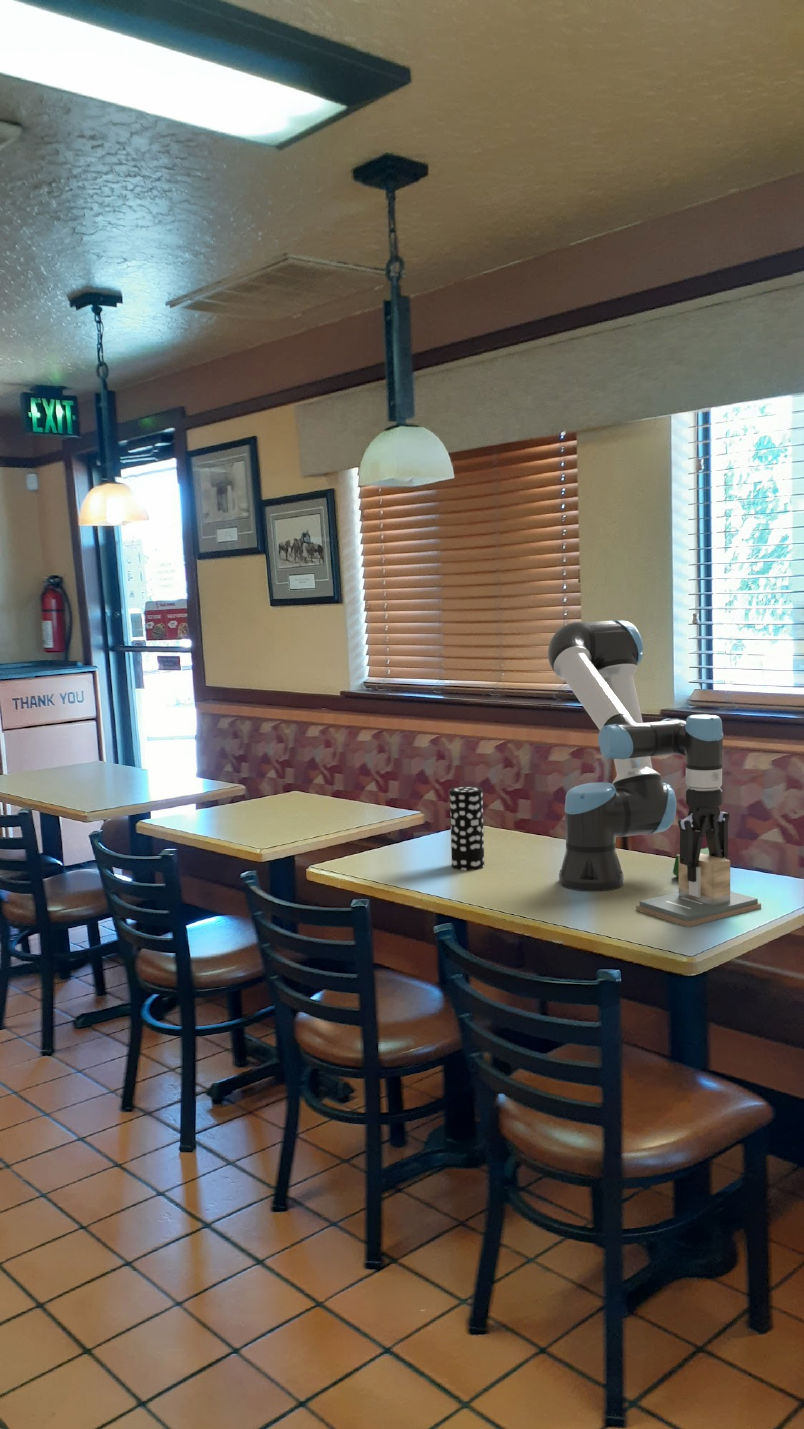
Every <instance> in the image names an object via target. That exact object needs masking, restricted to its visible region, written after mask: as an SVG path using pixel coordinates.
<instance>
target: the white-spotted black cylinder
mask: <svg viewBox="0 0 804 1429" xmlns="http://www.w3.org/2000/svg"><path fill="white" fill-rule="evenodd" d="M483 792H484V790H483V788H482V787H479V786H456V787H451V788H450V789H449V810H450V811H449V812H450V841H451V842H450V846H451V847H450V849H451V868H452V869H454V870H457V871H465V872H466V871H467V872H468V871H477V870H482V869H483V868H485V842H484V841H485V838H484V834H485V833H484V804H483V803H484V798H483V797H484V796H483Z"/></svg>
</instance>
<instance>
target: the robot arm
mask: <svg viewBox="0 0 804 1429" xmlns="http://www.w3.org/2000/svg"><path fill="white" fill-rule="evenodd" d="M548 644H549V645H548V649H547V657H548V663H549V666H550V668H551V669H552V671H553V673H555V675H556V677H558V678H559V679H560V680H562V681H565V683H567V685H568V686H569V688H570V690H571V691H572V693H573V694H574V695H575V697H576V698H577V700H578V701H579V702H580V704H581V705H582V707H583V708H584V710H585V711H586V713H587V714H588V715H589V716H590V719H591V720H592V721H593V722H594V724H595V726H596V727H597V728H598V730H599V733H598V736H597V737H598V739H597V742H598V747H599V750H600V753H601V754H602V756H603V757H605V758H606V759H608V760H613V762H614V766H615V767H614V768H615V772H616V777H615V778H614V779H613V781H612V783H611V782H605V781H604V782H603V781H600V782H589V783H583V784H579V785H576V786H574V787H572V788H570V789H569V790H567V792H566V795H565V799H564V800H565V801H564V802H565V804H564V816H565V817H564V818H565V819H564V820H565V821H564V822H565V823H564V824H565V853H564V857H563V860H562V864H561V869H560V870H559V873H558V882H559V884H560V885H561V886H562V887H564V888H568V889H572V890H576V891H585V892H586V891H591V892H597V891H598V892H599V891H610V890H614V889H617V888H620V887H622V886H623V885H624V883H625V882H624V871H623V870H622V868H621V863H620V860H619V857H618V855H617V851H616V850H617V849H616V845H617V844H616V843H617V842H616V839H617V838H620V837H633V836H641V835H649V836H650V835H653V834H657V833H663V832H666V831H667V830H668V829H670V827H671V826H672V825H673V823H674V819H675V817H676V813H677V798H676V794H675V791H674V789H673V788H672V786H671V785H670V784H669V783H666V782H663V781H662V775H661V773H660V772H658V771H656V770H655V769H653V764H652V759H651V757H657V756H658V757H660V756H673V755H678V756H679V755H680V756H683V757H685V785H686V786H687V788H685V804H686V805H687V807H688V811H687V816H686V817H685V818H684V819H683V818H679V819H678V821H677V824H678V827H679V828H678V829H679V854H680V863H681V864H684V865H686V866H687V879H688V881H689V895H692V896H695V897H701V867H698V862H699V857H700V851H701V849H702V844H703V839H704V837H705V838H706V845H707V848H708V850H709V855H710V856H714V857H718V858H723V859H724V857H725V859H727V858H728V856H729V821H730V813H729V812H725V811H721V808H720V807H721V806H723V790H722V788H721V787H722V786H723V753H724V751H723V747H724V746H723V745H724V742H723V740H724V739H723V738H724V732H723V721H722V718H721V717H720V716H718V715H715V714H714V715H713V714H712V715H711V714H692V715H688V716H687V718H686V719H685V720H683V719H680V718H665V719H662V720H660V721H652V722H651V721H648V722H646V721H645V722H644V721H643V717H642V712H641V708H640V703H639V698H638V697H639V696H638V692H637V689H636V683H635V680H634V675H635V674H636V672H637V671H638V669H639V668H638V665H639V664H640V662H641V661H642V659H643V656H644V653H643V651H644V644H643V640H642V636H641V634H640V632H639V629H637V627H636V626H635V625H634V624H633V623H631V622H630V621H627V620H616V619H611V620H599V621H574V622H570V623H567V624H565V625H563V626H562V627H560V628H558V630H556V632H555V633H554V634H553V636H552V637H551V639H550V642H549V643H548ZM692 860H693V861H692Z"/></svg>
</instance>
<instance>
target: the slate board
mask: <svg viewBox="0 0 804 1429" xmlns="http://www.w3.org/2000/svg"><path fill="white" fill-rule="evenodd" d="M758 909H762V903H761V902H759V899H758V898H755V897H752V896H749V895H746V894H745V895H744V894H742V893H739V892H736V891H735V892H734V891H731V890H730V902H727V903H723V904H719V905H715V906H713V905H710V904H706V903H703V902H700V901H696V900H693V899H689V898H686V897H682V896H679V891H678V892H673V893H669V894H665V895H660V896H656V897H653V898H651V897H650V898H648V899H643V900H639V904H637V905H636V908H635V910H636V911H638V912H641V913H644V914H648V915H650V916H653V917H656V918H660V919H661V920H662V919H663V920H665V921H668V922H672V923H675V924H678V925H679V926H680V925H681V926H683V927H686V926H687V928H690V926H691V927H693V926H697V925H702V924H705V923H709V922H712V921H716V920H721V919H724V918H728V917H732V916H736V915H740V914H743V913H744V914H745V913H748V912H751V911H755V910H758Z"/></svg>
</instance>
